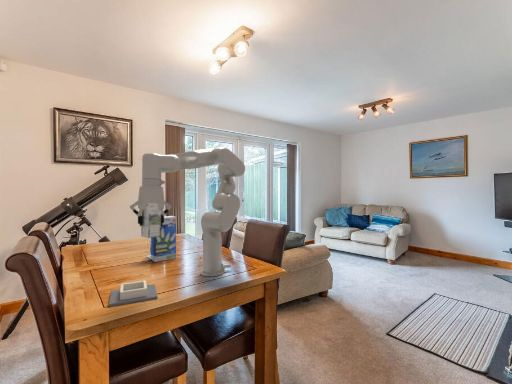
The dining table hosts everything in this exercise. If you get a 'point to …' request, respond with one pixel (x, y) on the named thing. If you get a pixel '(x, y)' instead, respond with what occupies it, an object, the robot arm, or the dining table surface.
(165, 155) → the robot arm
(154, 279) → the dining table surface
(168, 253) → the string lights box
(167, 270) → the dining table surface
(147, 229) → the syrup box
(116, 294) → the collar holder
